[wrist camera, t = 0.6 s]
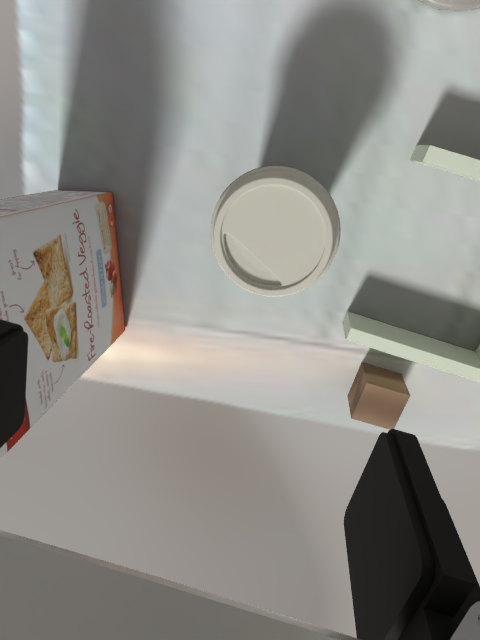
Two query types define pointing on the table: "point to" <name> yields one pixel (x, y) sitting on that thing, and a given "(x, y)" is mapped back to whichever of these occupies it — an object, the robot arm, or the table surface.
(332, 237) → the coffee cup
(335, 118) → the table surface
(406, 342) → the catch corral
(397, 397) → the walnut block
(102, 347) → the cracker box
